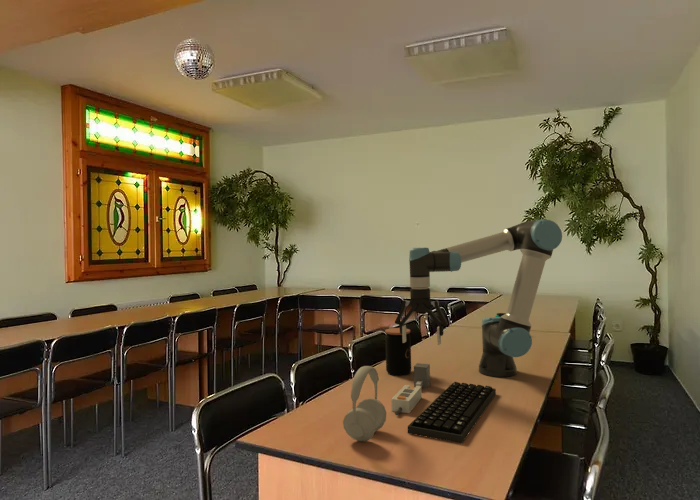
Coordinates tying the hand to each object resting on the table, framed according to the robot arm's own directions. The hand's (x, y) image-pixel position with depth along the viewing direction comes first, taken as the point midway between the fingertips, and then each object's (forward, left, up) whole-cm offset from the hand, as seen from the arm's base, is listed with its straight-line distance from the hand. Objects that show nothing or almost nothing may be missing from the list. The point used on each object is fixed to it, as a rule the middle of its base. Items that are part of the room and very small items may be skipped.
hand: (421, 343), depth 179 cm
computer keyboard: (-17, +23, -17) cm, 33 cm away
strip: (0, +23, -16) cm, 28 cm away
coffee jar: (+14, -15, -17) cm, 26 cm away
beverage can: (-20, -108, -17) cm, 111 cm away
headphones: (+4, +50, -17) cm, 53 cm away
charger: (0, +2, -17) cm, 17 cm away
